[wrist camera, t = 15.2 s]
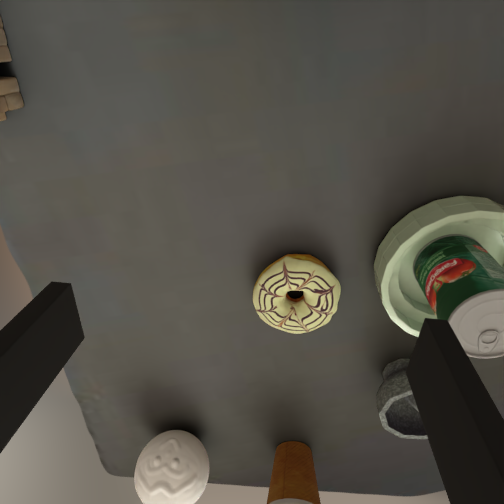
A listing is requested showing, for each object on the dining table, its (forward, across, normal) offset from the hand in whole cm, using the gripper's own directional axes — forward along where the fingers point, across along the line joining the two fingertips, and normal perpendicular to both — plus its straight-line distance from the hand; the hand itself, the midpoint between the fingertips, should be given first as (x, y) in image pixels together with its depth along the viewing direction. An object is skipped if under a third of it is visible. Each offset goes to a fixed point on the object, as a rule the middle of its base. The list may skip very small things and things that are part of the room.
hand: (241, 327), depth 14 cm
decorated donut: (+28, +4, -17) cm, 34 cm away
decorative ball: (+28, -13, -52) cm, 61 cm away
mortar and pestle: (+28, +22, -31) cm, 47 cm away
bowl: (+28, +21, -12) cm, 37 cm away
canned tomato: (+28, +21, -12) cm, 37 cm away
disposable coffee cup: (+28, +7, -52) cm, 60 cm away
